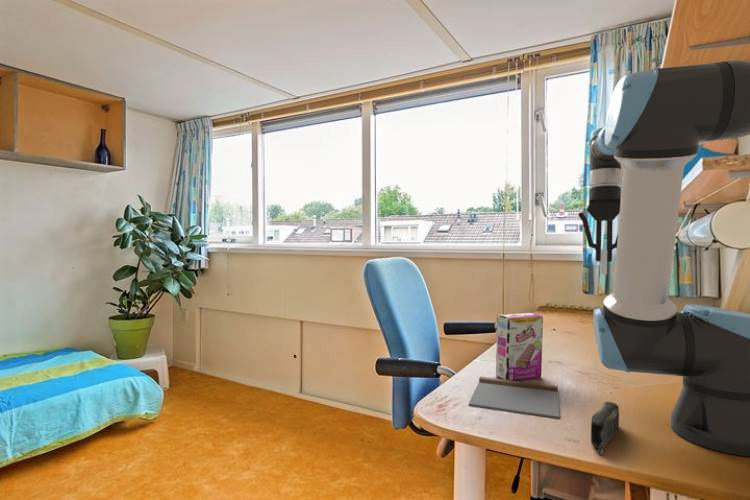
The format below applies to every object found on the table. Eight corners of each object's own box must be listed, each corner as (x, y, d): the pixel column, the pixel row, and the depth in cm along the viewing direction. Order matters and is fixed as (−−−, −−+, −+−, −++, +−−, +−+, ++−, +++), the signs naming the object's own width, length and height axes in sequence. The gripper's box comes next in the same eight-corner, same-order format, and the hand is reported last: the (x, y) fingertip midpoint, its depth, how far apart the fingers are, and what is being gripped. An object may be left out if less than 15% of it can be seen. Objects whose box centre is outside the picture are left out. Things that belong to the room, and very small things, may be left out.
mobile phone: (603, 398, 83) (586, 422, 71) (620, 401, 81) (606, 427, 69) (602, 423, 83) (586, 451, 71) (620, 427, 81) (606, 457, 69)
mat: (559, 418, 84) (559, 416, 84) (468, 405, 91) (468, 403, 91) (557, 393, 98) (557, 391, 98) (479, 383, 105) (479, 381, 105)
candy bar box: (507, 383, 105) (508, 317, 105) (495, 377, 110) (495, 314, 110) (543, 378, 109) (543, 314, 109) (529, 372, 114) (530, 311, 114)
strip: (557, 393, 99) (557, 387, 99) (479, 383, 105) (479, 378, 105) (557, 390, 100) (557, 385, 100) (480, 381, 107) (480, 376, 107)
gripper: (631, 187, 114) (630, 274, 114) (578, 189, 120) (577, 272, 120) (634, 183, 108) (633, 275, 108) (577, 185, 114) (576, 273, 113)
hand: (603, 273), depth 114 cm, fingers closed
